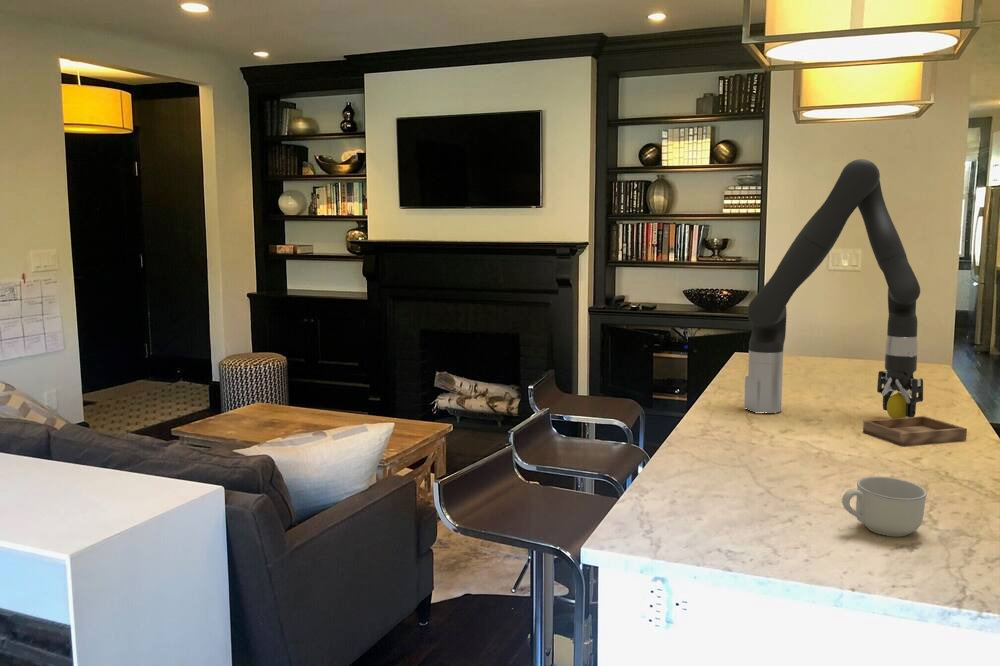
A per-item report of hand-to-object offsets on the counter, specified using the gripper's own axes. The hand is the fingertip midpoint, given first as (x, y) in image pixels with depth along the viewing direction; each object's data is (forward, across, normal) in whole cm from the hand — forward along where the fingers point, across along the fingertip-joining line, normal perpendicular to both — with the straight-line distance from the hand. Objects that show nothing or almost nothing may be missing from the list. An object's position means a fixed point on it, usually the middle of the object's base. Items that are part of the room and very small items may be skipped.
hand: (898, 413), depth 217 cm
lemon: (+3, 0, 0) cm, 3 cm away
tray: (+2, +14, -7) cm, 16 cm away
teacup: (+3, +66, -58) cm, 88 cm away
